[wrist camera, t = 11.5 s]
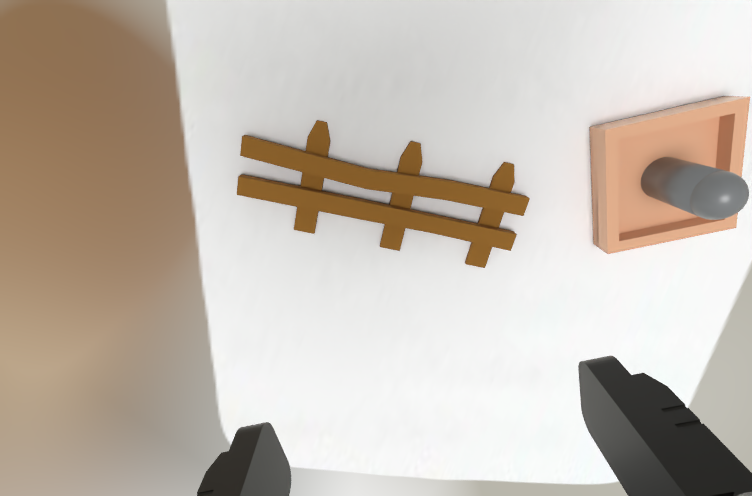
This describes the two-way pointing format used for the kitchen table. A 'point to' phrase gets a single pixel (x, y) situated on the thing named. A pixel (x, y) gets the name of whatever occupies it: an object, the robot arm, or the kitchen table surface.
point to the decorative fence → (399, 183)
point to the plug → (695, 188)
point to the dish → (648, 143)
